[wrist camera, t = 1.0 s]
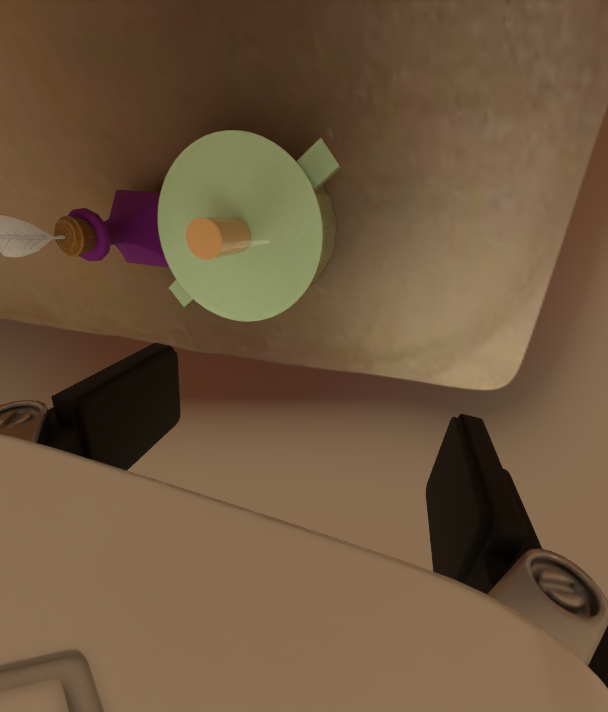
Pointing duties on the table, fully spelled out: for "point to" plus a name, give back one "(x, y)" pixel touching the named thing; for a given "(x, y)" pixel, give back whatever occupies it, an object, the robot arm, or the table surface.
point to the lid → (240, 225)
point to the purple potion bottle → (95, 232)
